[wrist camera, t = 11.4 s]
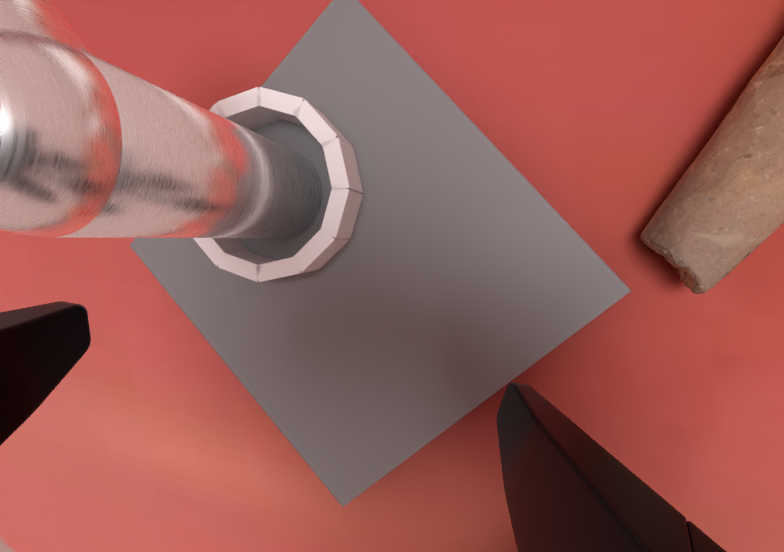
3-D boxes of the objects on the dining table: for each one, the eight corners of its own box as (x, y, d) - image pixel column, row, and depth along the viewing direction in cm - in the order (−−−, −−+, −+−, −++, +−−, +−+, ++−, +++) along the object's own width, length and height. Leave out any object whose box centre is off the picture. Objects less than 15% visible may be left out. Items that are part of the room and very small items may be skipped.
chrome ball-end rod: (339, 199, 19) (41, 116, 6) (276, 255, 20) (-92, 286, 7) (242, 73, 19) (-224, -252, 7) (186, 134, 20) (-310, -43, 8)
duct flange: (618, 286, 18) (651, 297, 14) (351, 489, 22) (328, 535, 19) (354, 5, 19) (327, -45, 16) (151, 245, 23) (95, 246, 20)
